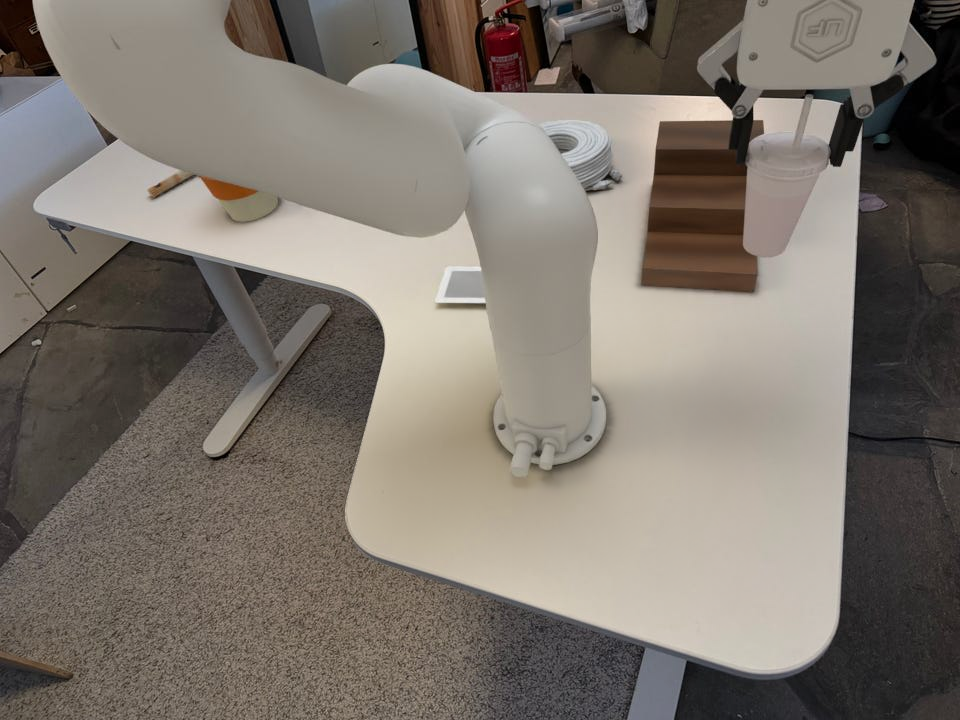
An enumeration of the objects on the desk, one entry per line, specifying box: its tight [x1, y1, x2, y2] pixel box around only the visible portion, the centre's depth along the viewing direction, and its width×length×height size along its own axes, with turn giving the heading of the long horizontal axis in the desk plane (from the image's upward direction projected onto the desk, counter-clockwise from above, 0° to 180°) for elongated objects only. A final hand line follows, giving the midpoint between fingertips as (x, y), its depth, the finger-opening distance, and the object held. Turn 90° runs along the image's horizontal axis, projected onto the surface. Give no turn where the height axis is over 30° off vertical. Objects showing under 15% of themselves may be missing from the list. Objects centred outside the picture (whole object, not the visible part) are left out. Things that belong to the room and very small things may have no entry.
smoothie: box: [743, 93, 831, 258], centre depth 51 cm, size 6×6×14 cm
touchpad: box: [434, 265, 486, 304], centre depth 84 cm, size 8×15×2 cm, turn 80°
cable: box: [538, 119, 623, 192], centre depth 101 cm, size 18×18×6 cm
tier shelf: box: [640, 119, 765, 293], centre depth 83 cm, size 24×14×11 cm, turn 165°
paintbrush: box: [147, 170, 194, 198], centre depth 122 cm, size 4×3×20 cm
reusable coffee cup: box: [198, 176, 279, 223], centre depth 105 cm, size 12×13×15 cm
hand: (786, 155), depth 50 cm, fingers closed on smoothie, 6 cm apart
